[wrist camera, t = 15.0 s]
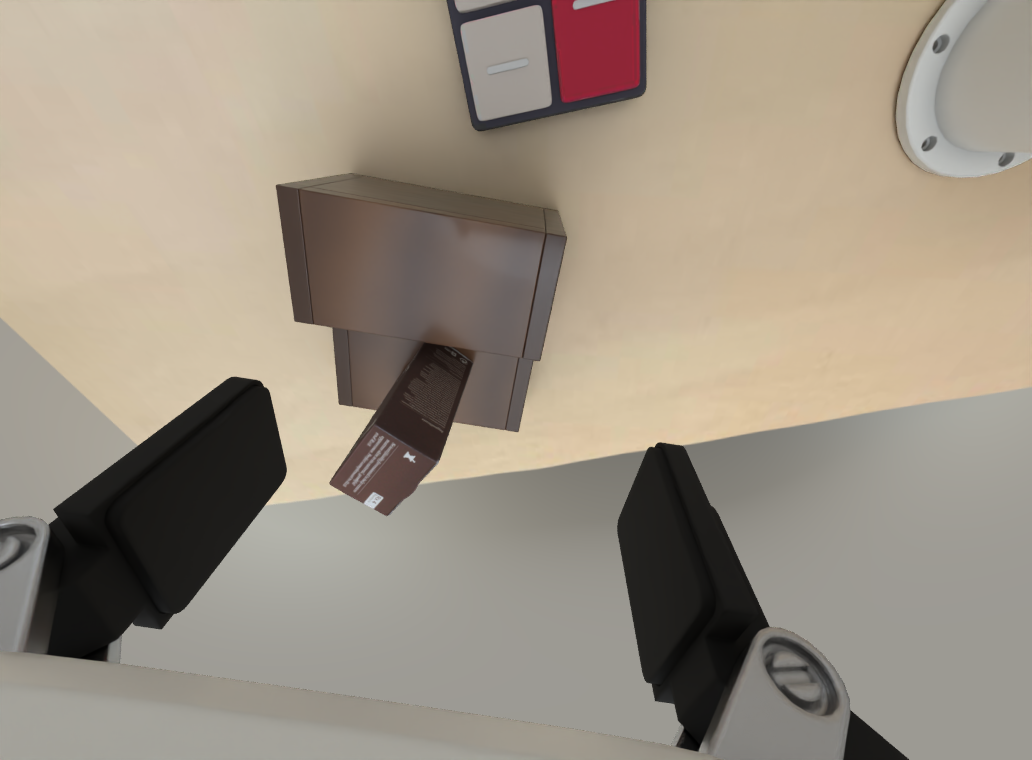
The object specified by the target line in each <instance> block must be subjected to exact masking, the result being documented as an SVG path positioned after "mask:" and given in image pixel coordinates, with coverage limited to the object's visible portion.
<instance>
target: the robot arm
mask: <svg viewBox="0 0 1032 760" xmlns="http://www.w3.org/2000/svg"><path fill="white" fill-rule="evenodd" d="M896 124H897V132H898V137H899V140H900V142H901V145H902V147H903V150H904V152H905V153H906V154H907V156H908V157H909V158H910V159H911V161H912V162H913V163H914V164H916V165H917V166H919V167H920V168H921V169H923V170H924V171H927V172H930V173H933V174H936V175H939V176H947V177H956V178H970V177H981V176H985V175H990V174H995V173H999V172H1001V171H1004V170H1007V169H1009V168H1012V167H1015V166H1017V165H1020V164H1021V163H1023V162H1025V161H1027V160H1029V159H1031V158H1032V0H946V1H945V2H944V4H943V5H942V6H941V8H940V9H939V11H938V12H937V13H936V15H935V16H934V17H933V19H932V20H931V21H930V23H929V24H928V26H927V27H926V29H925V31H924V32H923V34H922V36H921V38H920V40H919V41H918V43H917V45H916V47H915V48H914V50H913V52H912V55H911V57H910V59H909V62H908V64H907V67H906V69H905V72H904V74H903V77H902V81H901V85H900V89H899V93H898V97H897V108H896ZM286 472H287V467H286V463H285V458H284V454H283V449H282V445H281V440H280V436H279V431H278V427H277V423H276V418H275V414H274V409H273V405H272V400H271V396H270V392H269V390H268V389H267V388H265V387H264V386H263V384H262V383H261V382H260V381H258V380H253V379H246V378H240V377H231V378H229V379H227V380H226V381H224V382H223V383H222V384H220V385H219V386H217V387H216V388H215V389H213V390H212V391H211V392H209V393H208V394H207V395H205V396H204V397H203V398H201V399H200V400H199V401H197V402H196V403H195V404H193V405H192V406H191V407H189V408H188V409H187V410H185V411H184V412H183V413H181V414H180V415H179V416H177V417H176V418H175V419H173V420H172V421H171V422H169V423H168V424H167V425H165V426H164V427H163V428H161V429H160V430H159V431H157V432H156V433H155V434H153V435H152V436H151V437H149V438H148V439H147V440H145V441H144V442H142V443H141V444H140V445H138V446H137V447H136V448H135V449H133V450H132V451H130V452H129V453H128V454H126V455H125V456H124V457H122V458H121V459H120V460H118V461H117V462H116V463H114V464H113V465H112V466H110V467H109V468H108V469H106V470H105V471H104V472H102V473H101V474H100V475H98V476H97V477H96V478H94V479H93V480H92V481H90V482H89V483H88V484H86V485H85V486H84V487H82V488H81V489H80V490H78V491H77V492H76V493H74V494H73V495H72V496H70V497H69V498H67V499H66V500H65V501H63V502H62V503H61V504H60V505H58V506H57V507H56V508H54V509H53V510H54V511H55V513H56V514H57V516H58V518H56V519H55V520H54V521H53V522H51V523H50V524H49V525H48V524H47V523H46V522H45V521H43V520H42V519H39V518H35V517H30V516H29V517H11V518H6V519H1V520H0V760H909V759H907V757H905V756H904V755H903V754H902V753H901V752H900V751H898V750H897V749H896V748H895V747H893V746H892V745H891V744H889V742H888V741H886V740H885V739H884V738H883V737H882V736H881V735H879V734H878V733H877V732H876V731H874V730H873V729H872V728H871V727H870V726H869V725H867V724H866V723H865V722H864V721H863V720H861V719H860V718H859V717H858V716H857V715H856V714H854V713H853V712H852V711H851V710H850V699H849V696H848V693H847V690H846V688H845V685H844V683H843V681H842V679H841V678H840V676H839V674H838V673H837V671H836V670H835V668H834V667H833V665H832V664H831V663H830V662H829V661H828V660H827V658H826V657H825V656H824V655H823V654H822V653H821V652H820V651H819V650H817V648H815V647H814V646H813V645H812V644H811V643H810V642H808V641H807V640H805V639H804V638H802V637H800V636H799V635H797V634H795V633H794V632H791V631H788V630H785V629H782V628H776V627H775V628H774V627H769V625H768V622H767V620H766V618H765V616H764V613H763V611H762V609H761V607H760V605H759V602H758V600H757V598H756V596H755V594H754V592H753V589H752V587H751V585H750V583H749V581H748V578H747V576H746V574H745V572H744V570H743V567H742V565H741V563H740V561H739V559H738V556H737V554H736V552H735V550H734V548H733V545H732V543H731V541H730V539H729V537H728V534H727V532H726V530H725V528H724V526H723V524H722V521H721V519H720V517H719V515H718V513H717V512H716V510H715V509H714V508H713V507H712V506H711V505H710V503H709V501H708V499H707V496H706V494H705V492H704V490H703V487H702V485H701V483H700V481H699V479H698V476H697V474H696V472H695V469H694V467H693V465H692V463H691V461H690V458H689V456H688V454H687V452H686V450H685V448H684V447H683V446H680V445H674V444H667V443H661V442H660V443H657V444H656V446H655V448H654V447H649V448H648V450H647V452H646V454H645V457H644V459H643V461H642V464H641V466H640V468H639V471H638V473H637V476H636V478H635V481H634V483H633V485H632V488H631V490H630V492H629V495H628V497H627V500H626V502H625V505H624V507H623V509H622V512H621V514H620V517H619V519H618V526H617V529H618V530H617V531H618V538H619V543H620V549H621V555H622V561H623V566H624V572H625V577H626V583H627V588H628V594H629V600H630V606H631V611H632V617H633V622H634V628H635V634H636V639H637V645H638V651H639V656H640V662H641V667H642V673H643V676H644V679H645V681H646V682H647V683H652V687H653V693H654V698H655V701H659V702H666V703H672V704H675V709H676V713H677V717H678V721H679V722H680V723H681V725H680V727H679V730H678V732H677V734H676V736H675V738H674V740H673V742H672V744H671V746H669V745H665V744H660V743H654V742H648V741H642V740H636V739H630V738H625V737H619V736H613V735H607V734H601V733H595V732H589V731H584V730H578V729H571V728H565V727H558V726H551V725H545V724H538V723H530V722H524V721H518V720H511V719H504V718H498V717H491V716H484V715H478V714H471V713H464V712H457V711H451V710H443V709H437V708H430V707H424V706H417V705H409V704H403V703H396V702H389V701H382V700H375V699H368V698H361V697H354V696H347V695H340V694H333V693H326V692H319V691H312V690H306V689H299V688H291V687H285V686H278V685H270V684H263V683H256V682H249V681H242V680H235V679H226V678H220V677H212V676H206V675H198V674H191V673H184V672H177V671H169V670H162V669H155V668H147V667H141V666H133V665H126V664H120V654H121V639H122V634H123V633H124V631H125V630H126V629H127V628H128V627H129V626H130V625H131V623H133V624H134V625H135V626H141V627H148V628H155V629H162V628H163V627H164V626H165V624H166V623H167V622H168V621H169V619H170V618H171V617H172V616H173V614H177V613H179V612H181V611H182V610H183V609H184V608H185V607H186V606H187V605H188V604H189V603H190V601H191V600H192V599H193V598H194V596H195V595H196V594H197V592H198V591H199V590H200V588H201V587H202V586H203V585H204V583H205V582H206V581H207V579H208V578H209V577H210V575H211V574H212V573H213V572H214V570H215V569H216V568H217V566H218V565H219V564H220V563H221V561H222V560H223V559H224V557H225V556H226V555H227V553H228V552H229V551H230V550H231V548H232V547H233V546H234V545H235V543H236V542H237V541H238V539H239V538H240V537H241V535H242V534H243V533H244V532H245V530H246V529H247V528H248V526H249V525H250V524H251V522H252V521H253V520H254V519H255V517H256V516H257V515H258V513H259V512H260V511H261V510H262V508H263V507H264V506H265V505H266V503H267V502H268V501H269V499H270V498H271V497H272V495H273V494H274V493H275V492H276V490H277V489H278V488H279V486H280V485H281V484H282V482H283V481H284V479H285V476H286Z"/></svg>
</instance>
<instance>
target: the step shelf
mask: <svg viewBox="0 0 1032 760" xmlns="http://www.w3.org/2000/svg"><path fill="white" fill-rule="evenodd" d="M276 190H277V197H278V204H279V212H280V219H281V226H282V233H283V241H284V248H285V255H286V262H287V270H288V277H289V284H290V291H291V299H292V306H293V313H294V320H295V322H301V323H308V324H315V325H321V326H327V327H332V329H333V341H334V352H335V364H336V376H337V387H338V399H339V404H340V405H346V406H353V407H359V408H366V409H372V410H377V409H378V408H379V406H380V405H381V403H382V402H383V400H384V398H385V397H386V395H387V394H388V392H389V391H390V389H391V388H392V386H393V385H394V383H395V382H396V380H397V379H398V378H399V376H400V375H401V374H402V373H403V371H404V370H405V369H406V367H407V366H408V365H409V363H410V362H411V360H412V359H413V358H414V356H415V355H416V353H417V352H418V351H419V349H420V348H421V346H422V345H423V343H424V342H425V343H431V344H437V345H443V346H449V347H453V348H455V349H456V350H457V351H459V352H460V353H461V354H463V355H465V356H466V357H468V359H469V360H471V361H472V362H473V367H472V369H471V372H470V375H469V378H468V381H467V384H466V386H465V389H464V392H463V395H462V397H461V400H460V403H459V406H458V409H457V412H456V415H455V418H454V420H453V422H456V423H462V424H469V425H475V426H482V427H488V428H495V429H501V430H505V429H506V430H508V431H514V432H518V431H519V427H520V422H521V417H522V413H523V408H524V403H525V398H526V393H527V389H528V384H529V379H530V374H531V369H532V365H533V360H535V361H540V359H541V355H542V350H543V346H544V341H545V336H546V332H547V327H548V323H549V318H550V314H551V309H552V304H553V300H554V295H555V291H556V286H557V282H558V277H559V272H560V268H561V263H562V259H563V254H564V250H565V245H566V240H567V236H566V233H565V230H564V227H563V224H562V221H561V218H560V215H559V212H558V211H556V210H551V209H545V208H544V209H543V208H540V207H534V206H529V205H523V204H518V203H512V202H507V201H501V200H496V199H490V198H485V197H479V196H474V195H468V194H462V193H457V192H451V191H446V190H440V189H435V188H429V187H424V186H418V185H413V184H407V183H402V182H396V181H391V180H385V179H380V178H374V177H368V176H363V175H358V174H352V173H349V174H343V175H336V176H330V177H323V178H317V179H311V180H304V181H298V182H291V183H285V184H278V185H276Z"/></svg>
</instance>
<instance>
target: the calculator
mask: <svg viewBox="0 0 1032 760" xmlns="http://www.w3.org/2000/svg"><path fill="white" fill-rule="evenodd" d="M447 4H448V9H449V14H450V19H451V24H452V29H453V34H454V39H455V44H456V49H457V54H458V59H459V63H460V68H461V73H462V78H463V83H464V88H465V93H466V98H467V103H468V108H469V113H470V117H471V122H472V126H473V128H474V129H475V130H477V131H484V130H489V129H494V128H498V127H503V126H508V125H512V124H517V123H522V122H526V121H531V120H536V119H540V118H545V117H549V116H554V115H559V114H563V113H568V112H573V111H577V110H582V109H587V108H591V107H596V106H601V105H605V104H610V103H614V102H619V101H624V100H628V99H633V98H637V97H640V96H642V95H643V94H644V92H645V90H646V0H447Z"/></svg>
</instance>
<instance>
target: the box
mask: <svg viewBox="0 0 1032 760" xmlns="http://www.w3.org/2000/svg"><path fill="white" fill-rule="evenodd" d="M472 367H473V362H472V361H471V360H469V359H468V357H466V356H465V355H463V354H461V353H460V352H459V351H457V350H456V349H455V348H453V347H449V346H443V345H437V344H431V343H425V342H424V343H423V345H422V346H421V348H420V349H419V351H418V352H417V353H416V355H415V356H414V358H413V359H412V360H411V362H410V363H409V365H408V366H407V367H406V369H405V370H404V371H403V373H402V374H401V375H400V376H399V378H398V379H397V380H396V382H395V383H394V385H393V386H392V388H391V389H390V391H389V392H388V394H387V395H386V397H385V398H384V400H383V402H382V403H381V405H380V406H379V408H378V409H377V411H376V412H375V414H374V415H373V417H372V418H371V420H370V422H369V423H368V425H367V426H366V428H365V429H364V431H363V432H362V434H361V435H360V437H359V438H358V440H357V441H356V443H355V444H354V446H353V448H352V449H351V451H350V452H349V454H348V455H347V457H346V458H345V460H344V461H343V463H342V464H341V466H340V467H339V469H338V470H337V472H336V473H335V475H334V476H333V478H332V479H331V481H330V485H331V486H333V487H335V488H337V489H338V490H340V491H342V492H343V493H345V494H347V495H349V496H351V497H353V498H354V499H356V500H358V501H360V502H362V503H364V504H365V505H367V506H369V507H371V508H373V509H375V510H377V511H378V512H380V513H382V514H384V515H386V516H388V515H390V514H391V513H392V512H393V511H394V510H395V509H396V507H398V505H399V504H400V503H401V502H402V501H403V500H404V499H405V498H407V497H409V496H410V495H411V494H412V493H413V492H414V491H415V490H416V488H417V486H418V484H419V483H420V482H421V481H422V480H423V479H424V478H425V477H426V475H427V474H428V473H429V472H430V471H431V470H432V469H433V468H434V467H435V466H436V465H437V464H438V463H439V460H440V458H441V455H442V452H443V449H444V446H445V444H446V440H447V437H448V435H449V432H450V429H451V426H452V423H453V420H454V418H455V415H456V412H457V409H458V406H459V403H460V400H461V397H462V395H463V392H464V389H465V386H466V384H467V381H468V378H469V375H470V372H471V369H472Z"/></svg>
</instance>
